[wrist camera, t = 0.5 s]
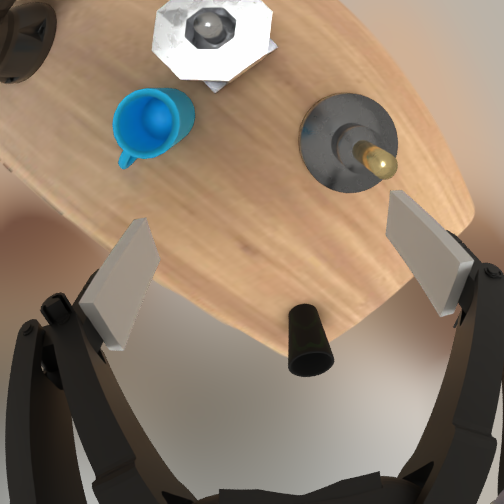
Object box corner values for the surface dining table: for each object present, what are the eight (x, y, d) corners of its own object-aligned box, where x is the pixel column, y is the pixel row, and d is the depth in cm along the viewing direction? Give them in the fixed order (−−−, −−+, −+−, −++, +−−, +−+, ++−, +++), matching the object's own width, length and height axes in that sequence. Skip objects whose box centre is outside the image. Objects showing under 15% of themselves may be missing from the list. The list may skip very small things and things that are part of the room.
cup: (285, 329, 55) (289, 379, 45) (281, 303, 51) (286, 355, 41) (322, 324, 54) (333, 373, 44) (322, 296, 50) (335, 348, 40)
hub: (277, 129, 34) (289, 147, 24) (359, 75, 30) (403, 73, 19) (333, 205, 40) (360, 250, 30) (406, 156, 35) (453, 186, 25)
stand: (168, 44, 27) (132, 28, 17) (227, -1, 24) (216, -36, 14) (216, 93, 32) (199, 93, 21) (277, 48, 28) (288, 29, 18)
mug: (162, 76, 30) (139, 74, 23) (207, 111, 33) (195, 116, 26) (114, 143, 35) (86, 158, 28) (155, 175, 38) (134, 196, 31)
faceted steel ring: (146, 38, 22) (132, 33, 19) (224, -22, 18) (220, -35, 15) (208, 100, 27) (202, 102, 24) (289, 41, 23) (294, 35, 20)
